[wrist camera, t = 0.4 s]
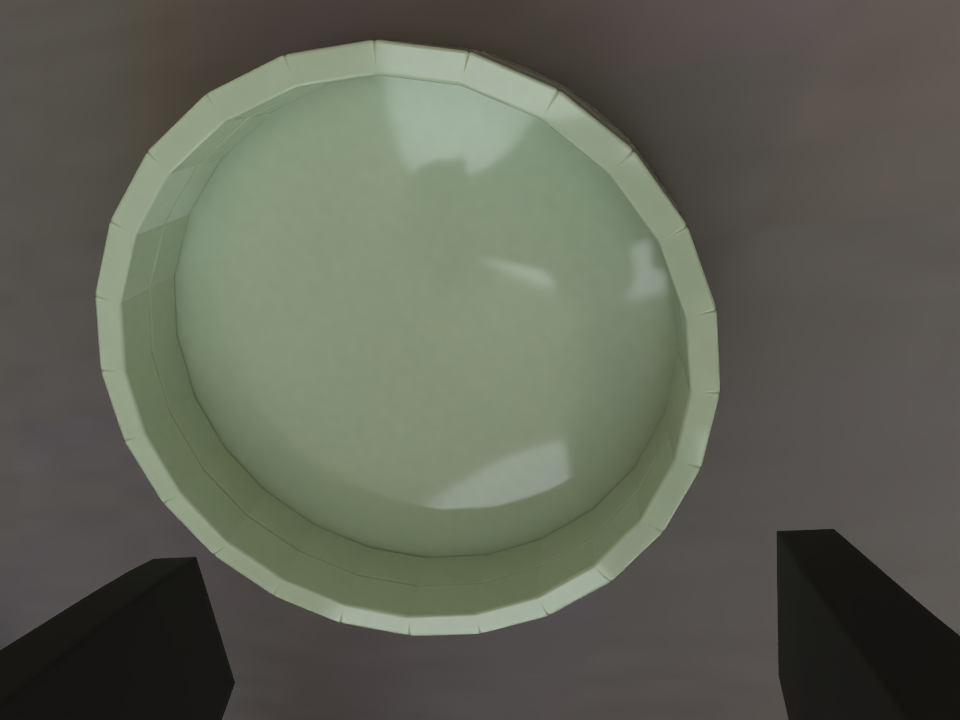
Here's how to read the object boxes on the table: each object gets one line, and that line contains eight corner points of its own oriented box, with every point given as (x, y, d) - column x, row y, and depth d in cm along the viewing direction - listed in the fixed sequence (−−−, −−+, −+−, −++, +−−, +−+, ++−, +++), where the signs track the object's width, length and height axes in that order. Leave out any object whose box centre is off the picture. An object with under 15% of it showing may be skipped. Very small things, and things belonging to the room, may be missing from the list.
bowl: (713, 548, 20) (732, 627, 18) (239, 571, 23) (190, 643, 20) (683, -5, 16) (702, -17, 13) (96, 92, 18) (8, 100, 16)
